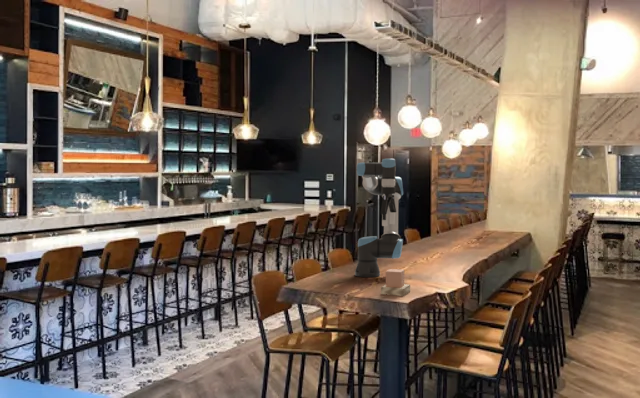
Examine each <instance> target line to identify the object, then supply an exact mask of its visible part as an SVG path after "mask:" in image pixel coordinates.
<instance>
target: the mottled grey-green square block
mask: <svg viewBox="0 0 640 398" xmlns="http://www.w3.org/2000/svg"><path fill="white" fill-rule="evenodd" d="M410 292H411V284H405V283H404V286H403V287H402V288H396V287H386V284H384V285H383V286H381V287H380V295H386V294H387V296H388V295H389V296H398V297H399V296H400V297H404V296H406V295H407V294H409V293H410Z"/></svg>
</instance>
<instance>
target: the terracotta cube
mask: <svg viewBox="0 0 640 398" xmlns="http://www.w3.org/2000/svg"><path fill="white" fill-rule="evenodd" d="M404 284H405V269H396V268H395V269H394V268H389V269H387V270H386V271H385V285H386V287H396V288H402V287H403V286H404Z"/></svg>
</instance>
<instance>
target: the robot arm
mask: <svg viewBox="0 0 640 398" xmlns="http://www.w3.org/2000/svg"><path fill="white" fill-rule="evenodd" d="M396 171H397V166H396V159H395V158H382V160H381V162H364V161H363V162H358V163H357V164H356V175H357V176H360V177H361V178H362V186H363V188H364V190H365V191H367V192H368V193H370V194H372V195H374V196H381V197H382V201H381V207H380V208H381V209H380V215H381V226H382V227H383V234H382V235H381V237H380V238H378V236H377V235H374V236H373V235H371V236H364V237H360V238H359V239H357V240H358V241H357V264H356V266H355V270H354V276H355V277H360V278H375V277H377V278H378V277H380V276H381V270H380V267H379V264H378V259H400V258H401V256H402V253H403V252H402V251H403V243H404V239H403V238H401V235H400V234H399V200H400V199H401V198H402V196H403V195H404V188H403V180H402V177H400V176H396Z"/></svg>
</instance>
